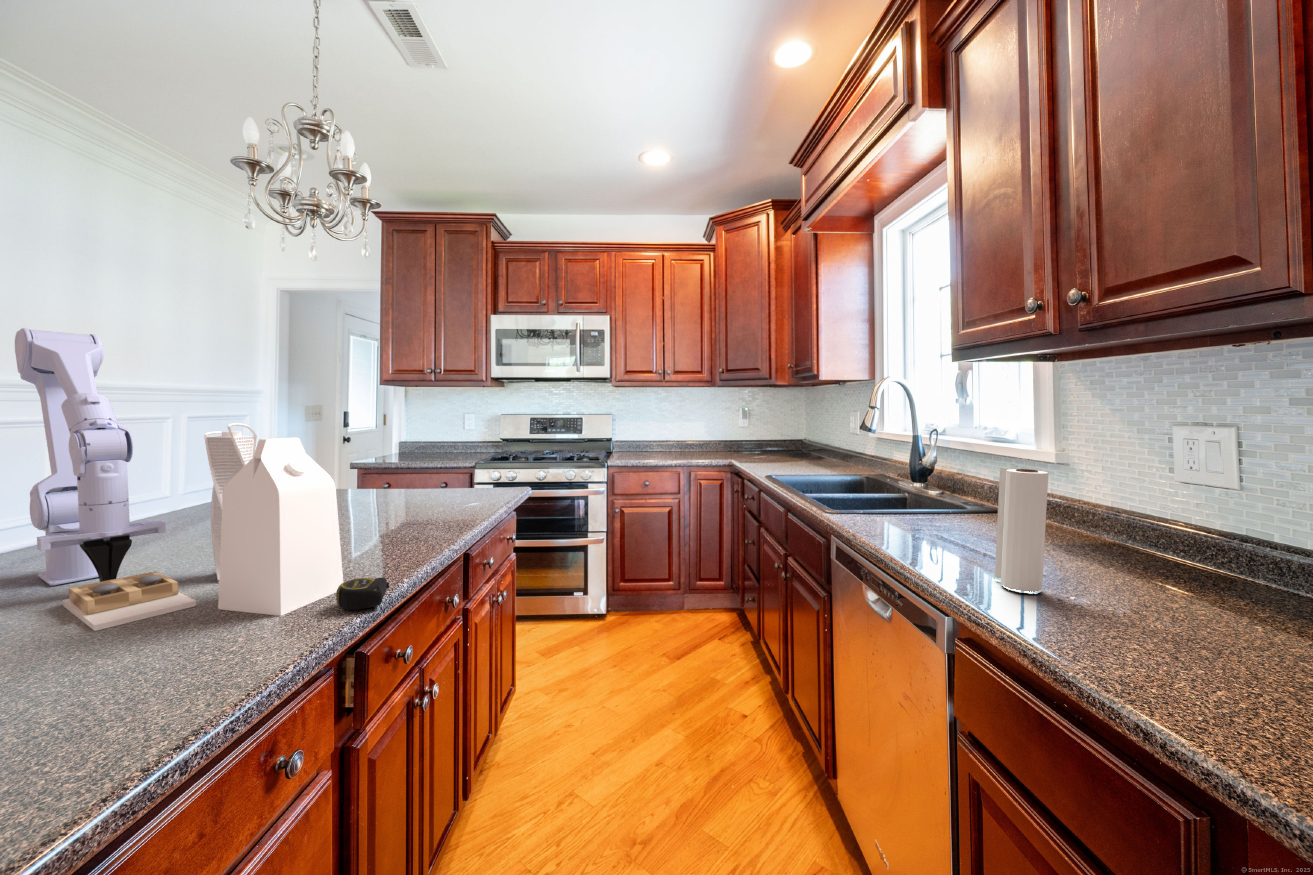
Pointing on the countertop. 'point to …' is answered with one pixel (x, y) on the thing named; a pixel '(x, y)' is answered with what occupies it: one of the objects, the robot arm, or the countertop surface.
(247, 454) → the skyscraper
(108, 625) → the mounting plate
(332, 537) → the milk
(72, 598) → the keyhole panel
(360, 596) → the tape measure
